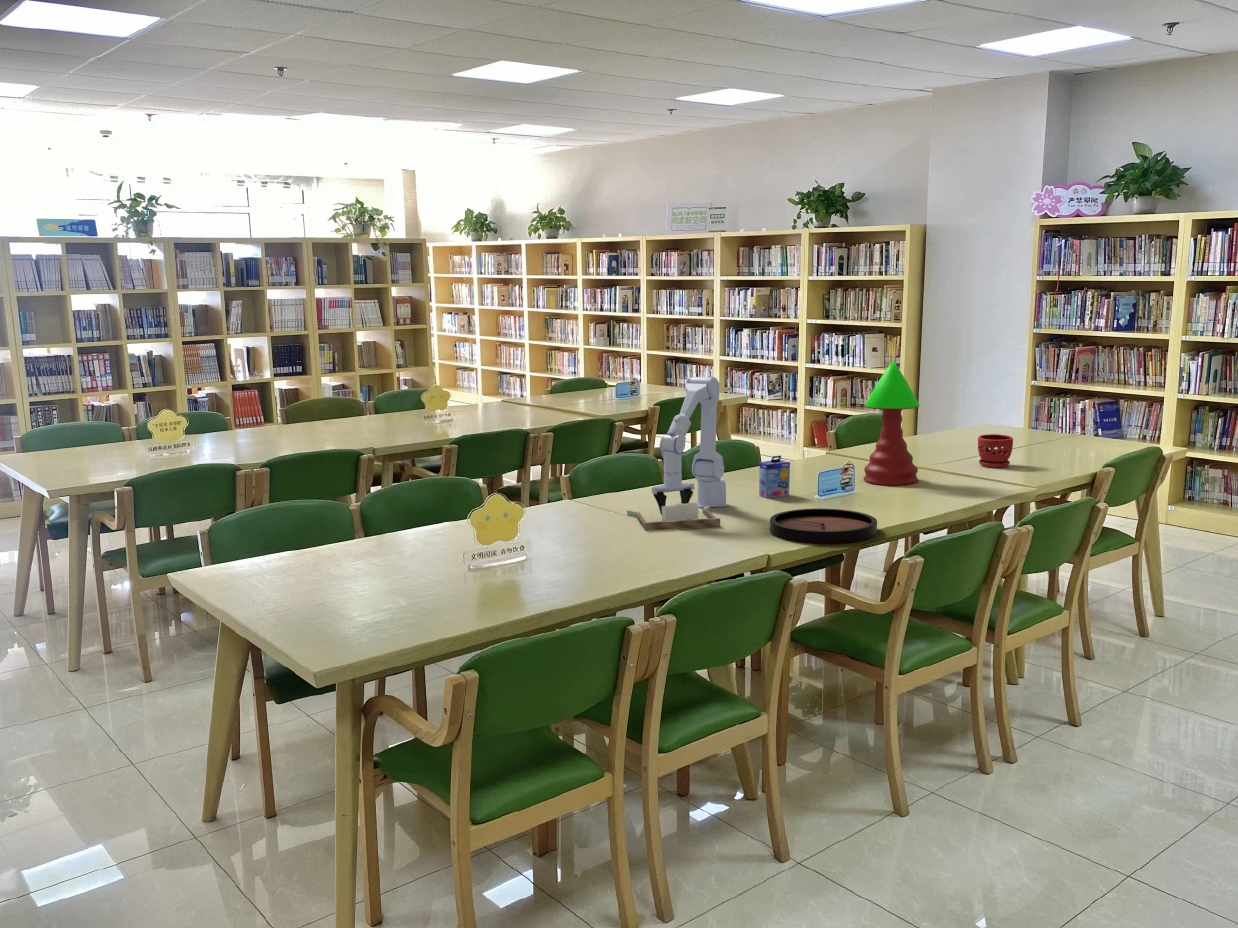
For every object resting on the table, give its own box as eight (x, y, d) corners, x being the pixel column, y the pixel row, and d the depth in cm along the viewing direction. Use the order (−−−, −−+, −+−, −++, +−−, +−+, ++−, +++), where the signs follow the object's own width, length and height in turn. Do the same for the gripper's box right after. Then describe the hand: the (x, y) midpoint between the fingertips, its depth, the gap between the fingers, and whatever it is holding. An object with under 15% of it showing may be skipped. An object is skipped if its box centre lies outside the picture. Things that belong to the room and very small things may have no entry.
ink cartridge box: (766, 498, 351) (766, 457, 349) (758, 495, 356) (758, 455, 354) (790, 495, 355) (790, 455, 353) (781, 492, 360) (781, 452, 358)
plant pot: (969, 465, 404) (970, 435, 402) (994, 462, 410) (995, 433, 408) (994, 470, 393) (995, 439, 391) (1019, 467, 398) (1020, 437, 396)
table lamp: (924, 485, 366) (927, 361, 359) (869, 486, 367) (871, 362, 359) (910, 475, 386) (913, 357, 378) (858, 476, 386) (860, 359, 379)
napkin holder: (656, 525, 318) (655, 507, 317) (661, 517, 329) (660, 500, 328) (703, 525, 315) (703, 508, 314) (707, 517, 326) (706, 500, 325)
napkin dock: (710, 509, 335) (710, 502, 335) (727, 526, 311) (727, 518, 311) (626, 514, 332) (626, 506, 331) (637, 531, 308) (637, 523, 308)
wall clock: (898, 524, 292) (804, 536, 281) (898, 538, 293) (804, 550, 282) (839, 504, 321) (751, 514, 310) (839, 517, 322) (751, 527, 311)
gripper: (686, 468, 329) (687, 508, 331) (646, 472, 323) (647, 513, 325) (697, 471, 323) (697, 512, 325) (656, 475, 317) (657, 517, 319)
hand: (673, 513), depth 325 cm, fingers open, 7 cm apart
